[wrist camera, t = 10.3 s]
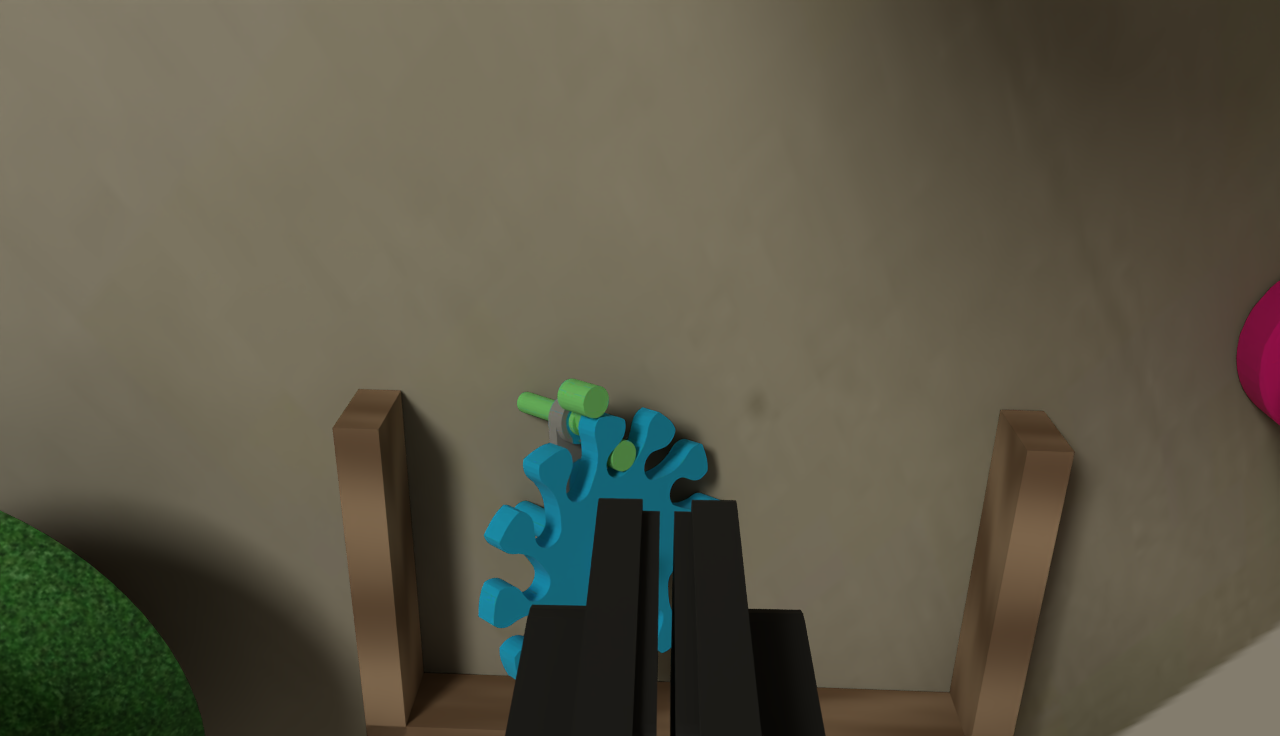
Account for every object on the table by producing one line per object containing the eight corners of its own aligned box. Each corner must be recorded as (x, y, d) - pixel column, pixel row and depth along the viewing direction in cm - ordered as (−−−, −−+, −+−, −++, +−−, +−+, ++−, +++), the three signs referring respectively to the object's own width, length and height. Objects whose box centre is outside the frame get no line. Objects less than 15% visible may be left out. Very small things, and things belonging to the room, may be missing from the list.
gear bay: (358, 389, 36) (332, 428, 33) (1044, 411, 36) (1074, 452, 33) (389, 700, 42) (369, 755, 39) (981, 723, 41) (1003, 780, 38)
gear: (736, 640, 38) (518, 765, 32) (629, 589, 42) (417, 689, 36) (729, 353, 35) (487, 426, 29) (615, 328, 39) (382, 387, 33)
